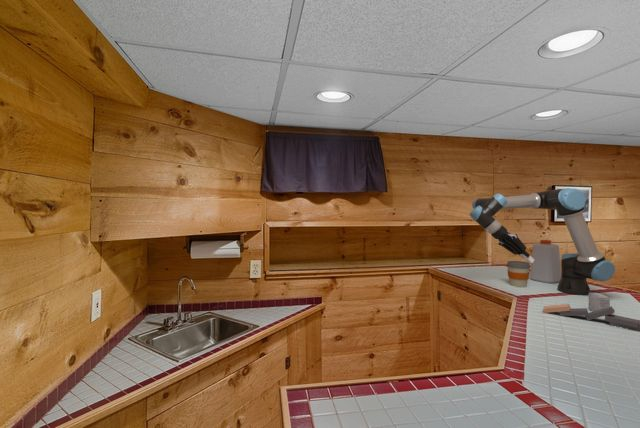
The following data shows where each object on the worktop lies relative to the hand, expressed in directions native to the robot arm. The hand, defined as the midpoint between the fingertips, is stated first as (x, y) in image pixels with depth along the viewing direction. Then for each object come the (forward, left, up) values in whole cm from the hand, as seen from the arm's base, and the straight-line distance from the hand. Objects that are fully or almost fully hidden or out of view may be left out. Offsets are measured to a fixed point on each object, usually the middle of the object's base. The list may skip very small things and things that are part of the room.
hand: (532, 261), depth 158 cm
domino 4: (+20, +23, -22) cm, 38 cm away
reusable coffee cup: (-41, +5, -23) cm, 47 cm away
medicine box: (+5, +26, -23) cm, 35 cm away
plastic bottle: (-61, +27, -23) cm, 71 cm away
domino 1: (+13, +8, -22) cm, 26 cm away
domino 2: (+16, +17, -22) cm, 32 cm away
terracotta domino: (+10, +2, -22) cm, 24 cm away
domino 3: (+20, +22, -20) cm, 36 cm away
